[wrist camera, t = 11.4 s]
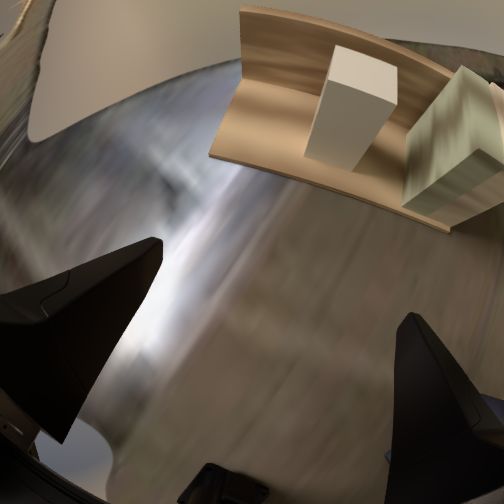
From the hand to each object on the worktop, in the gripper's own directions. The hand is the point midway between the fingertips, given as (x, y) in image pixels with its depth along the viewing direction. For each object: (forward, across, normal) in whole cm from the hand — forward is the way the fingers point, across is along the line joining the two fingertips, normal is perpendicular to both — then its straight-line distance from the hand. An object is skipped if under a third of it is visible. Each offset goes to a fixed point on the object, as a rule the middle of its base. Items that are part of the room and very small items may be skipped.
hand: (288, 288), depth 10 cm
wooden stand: (+21, -4, -2) cm, 21 cm away
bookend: (+20, -2, -1) cm, 20 cm away
